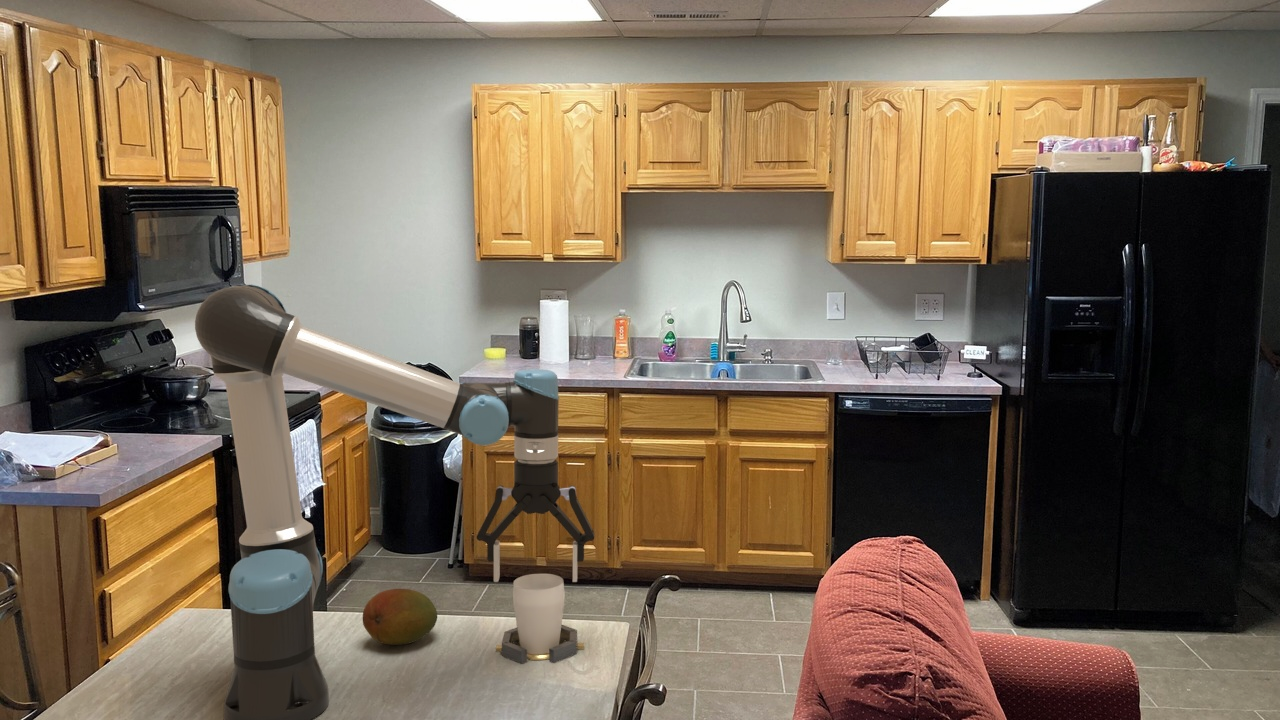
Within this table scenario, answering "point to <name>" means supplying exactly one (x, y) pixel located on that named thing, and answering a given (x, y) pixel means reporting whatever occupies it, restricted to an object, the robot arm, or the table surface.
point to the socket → (554, 655)
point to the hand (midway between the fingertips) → (535, 579)
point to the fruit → (399, 616)
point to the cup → (538, 611)
